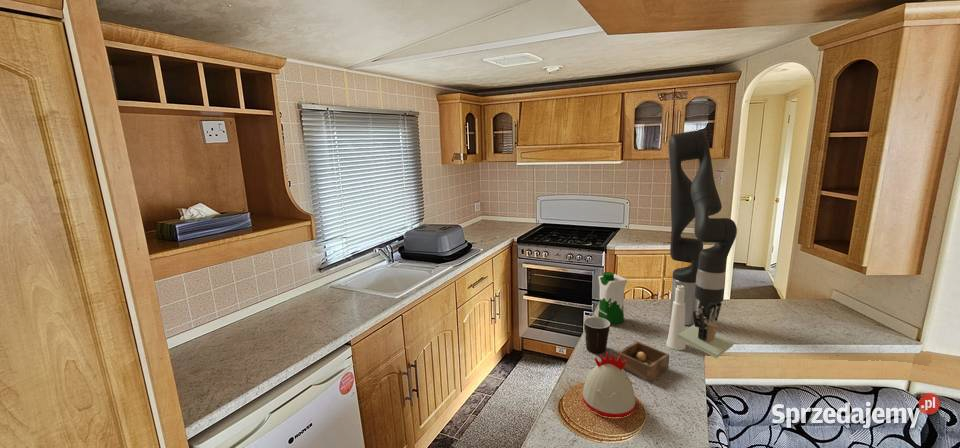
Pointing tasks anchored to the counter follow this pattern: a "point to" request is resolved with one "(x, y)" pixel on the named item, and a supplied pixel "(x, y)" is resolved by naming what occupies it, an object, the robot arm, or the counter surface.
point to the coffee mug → (596, 334)
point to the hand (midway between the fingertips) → (704, 336)
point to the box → (638, 368)
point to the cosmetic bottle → (677, 320)
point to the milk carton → (611, 297)
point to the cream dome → (609, 388)
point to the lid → (707, 340)
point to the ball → (641, 356)
